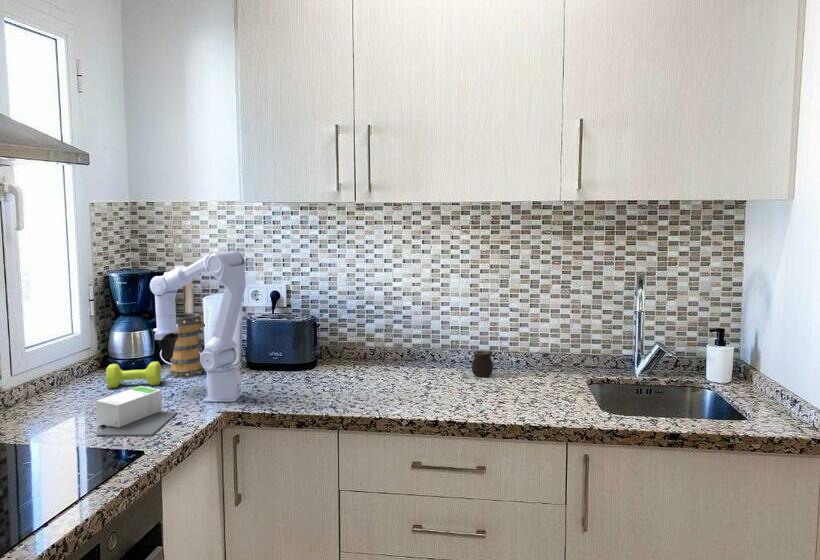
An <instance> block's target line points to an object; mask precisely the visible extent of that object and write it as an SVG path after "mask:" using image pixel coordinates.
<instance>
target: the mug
mask: <svg viewBox="0 0 820 560" xmlns="http://www.w3.org/2000/svg"><path fill="white" fill-rule="evenodd" d="M203 319H204V317H202V316H201V314H200V313H197V312H183V313H181V312H180V313H179V312H178V313H176V324H178V331H176V332H173V334H178V338H177V340H176V343H175V346H174V352H173V357H172V358H171V359H169V362H171V368H170V370H169V371H168V372H167V373H168V374H169V375H170V376H171V377H173V378H179V379H180V378H193V377H196V376H201V375H202V374H204V371H205V369H204V368H203V367H202V365H201V362H200V356H201V354H200V353H201V352H200V347H201V343H200V340H199V339H200V336H199V335H200V333H201V332H202V331H201V329H202V328H205V324H204V321H201V320H203Z"/></svg>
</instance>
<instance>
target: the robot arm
mask: <svg viewBox="0 0 820 560" xmlns="http://www.w3.org/2000/svg"><path fill="white" fill-rule="evenodd" d="M247 264H248V263H247V261H246V259H245V258H244V256H243V254H242V252H240V251H238V250H231V251H226V252H214V253H213V252H212V253H211V254H208V255H205V256H204V257H202V258H200V259H199V260H196V261H195V262H194V263H192V264H190V265H189V266H186V265H181V264H180V265H179V264H178V265H175V266H174V269H172V270H170V271H169V270H168V271H165V272H164V273H163V275H159V276H158V275H156V276H153V277H152V278H151V280H150V283H149V289H150V291H151V293H152V294H153V295H154V303H155V305H154V308H155V319H156V320H155V321H156V322H155V323H156V328H153V329H152V332H154V341H156V343H157V344H158V346H159V347H160V350H161V352H162V355H163V359H166V360H168V359H169V360H170V359H171V358H172V357H173V352H174V346H175V343H176V340H177V338H178V334H173V332H176V331H178V324H176V314H177V311H176V297H177V291H178V290H179V289H180V288H183V287H185V286H187V285H189V284H191V283H192V282H193V280H194V279H193V278H194V277H196V276H198V275H201V274H202V273H207V272H210V274H211V275H212V276H213V277H214V278H215V279H216V280H217V281H218V282H219V283H220V284H221V285H223V287H224V290H223V294H222V295H223V296H222V300H221V302H220V306H219V307H220V308H219V311H218V315H217V320H216V325H215V328H214V335H213V338H212V339H211V338H210V340H208V342H207V343H206V344H205V348H204V349H203V351H202V352H200V353H201V354H200V355H201V356H200V362H201V365H202V367H203V368H204V369H205V370H204V371H205V372H206V384H207V387H206V388H207V396H206V397H204V399H203V400H202V401H203V402H204V403H206V402H207V403H210V402H212V403H213V402H216V403H217V402H220V403H221V402H227V403H228V402H229V403H230V402H236V401H237V400H238V399H239V398H240V397H241V396H242V394H243V392H242V379H241V375H242V374H241V371H240V369H238V368H233V367H234V363H235V362H236V360H237V357H238V356H237V346H238V344H237V343H236V341H235V340H233V338H234V334H235V331H236V325H237V322H238V318H239V313H240V310H241V307H242V303H243V299H244V294H245V290H246V284H247V283H246V272H245V271H246V268H247Z"/></svg>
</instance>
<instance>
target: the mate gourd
mask: <svg viewBox="0 0 820 560" xmlns="http://www.w3.org/2000/svg"><path fill="white" fill-rule="evenodd" d="M493 349H494V347H492V348H491V349H490V350H484V349H483V350H482V349H481V350H475V351H473V360H472V362H471V371H472V374H473V375H474V376H475V377H478V378H488V377H489V376H490V375H492V374H493V371H494V362H493V360H492V358H491V357H492V353H491V351H493Z"/></svg>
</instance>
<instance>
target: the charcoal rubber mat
mask: <svg viewBox="0 0 820 560" xmlns="http://www.w3.org/2000/svg"><path fill="white" fill-rule="evenodd" d="M177 414H178V411H160V412H157V413H155V414H152V415H150V416H147V417H144V418H142V419H139V420H137V421H134V422H132V423H129V424H127V425H124V426H122V427H119V428H117V427H112V426H106V427H105V428H104V429H102V430H101V431H100V432H98V433H97V434H96V437H150V436H151V437H152V436H153V435H155V434H156V433H157V432H159V430H160V429H162V428H163V427H164V426H165V425H166V424H167V423H168V422H170V420H172V419H173V418H174V417H175V416H177Z"/></svg>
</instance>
